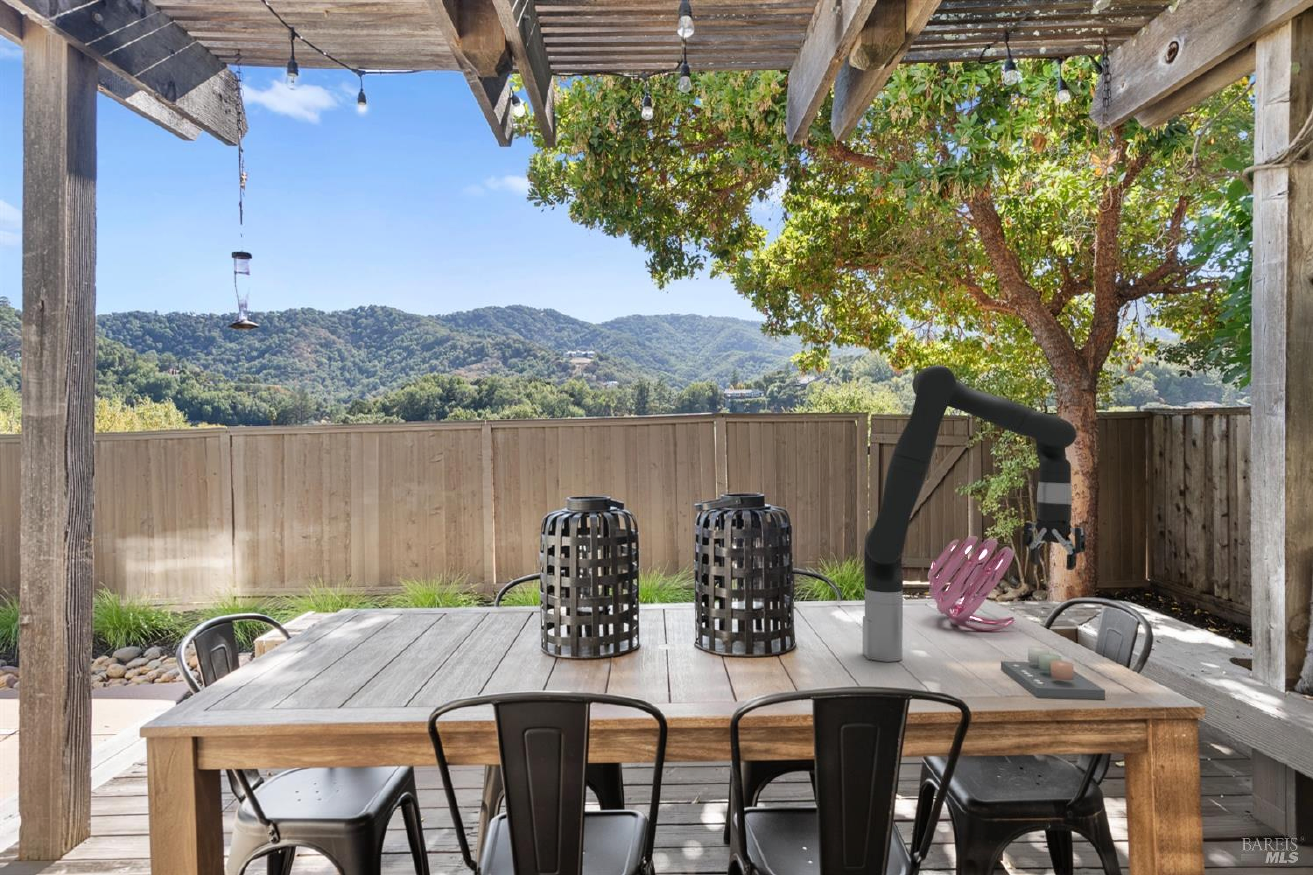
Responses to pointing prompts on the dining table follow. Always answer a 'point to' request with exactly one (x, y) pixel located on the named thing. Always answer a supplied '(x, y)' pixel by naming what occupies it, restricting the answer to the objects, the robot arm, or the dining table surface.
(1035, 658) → the cream button
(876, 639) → the robot arm
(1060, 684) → the charcoal panel
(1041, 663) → the sage button
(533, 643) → the dining table surface
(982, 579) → the spiral basket
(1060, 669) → the terracotta button
